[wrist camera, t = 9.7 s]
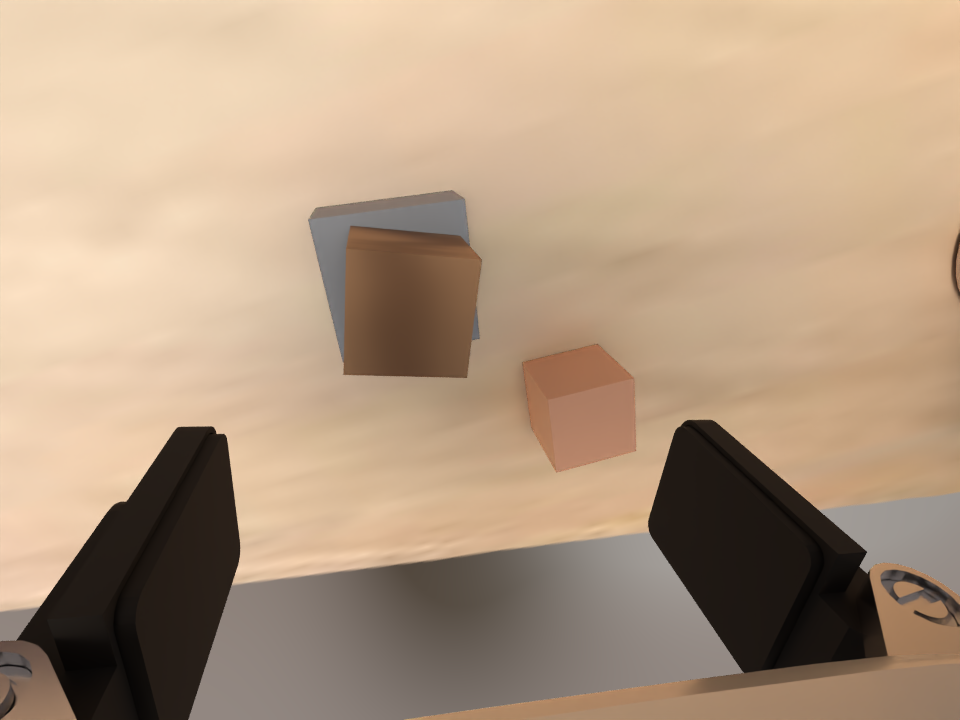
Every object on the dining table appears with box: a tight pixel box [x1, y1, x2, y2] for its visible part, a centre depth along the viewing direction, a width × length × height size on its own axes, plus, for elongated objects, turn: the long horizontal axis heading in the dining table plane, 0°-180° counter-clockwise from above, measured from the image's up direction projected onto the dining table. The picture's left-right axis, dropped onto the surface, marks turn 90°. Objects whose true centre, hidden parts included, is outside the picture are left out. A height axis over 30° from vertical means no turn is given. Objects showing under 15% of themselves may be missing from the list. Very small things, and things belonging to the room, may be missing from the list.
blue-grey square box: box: [308, 190, 480, 362], centre depth 26 cm, size 7×7×4 cm
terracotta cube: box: [522, 344, 636, 473], centre depth 30 cm, size 5×5×5 cm
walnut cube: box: [344, 226, 482, 378], centre depth 22 cm, size 5×5×5 cm
